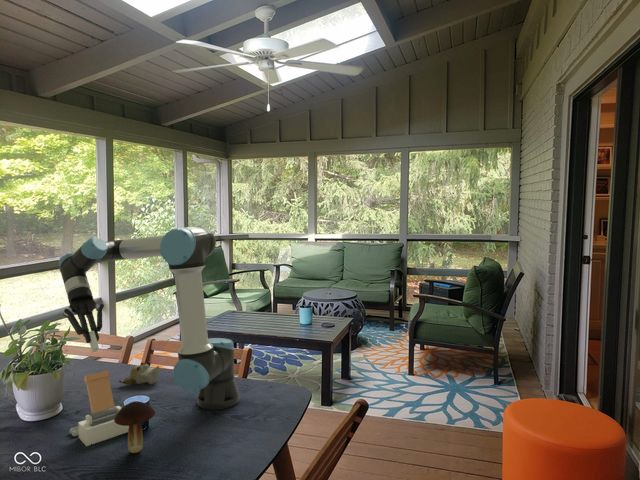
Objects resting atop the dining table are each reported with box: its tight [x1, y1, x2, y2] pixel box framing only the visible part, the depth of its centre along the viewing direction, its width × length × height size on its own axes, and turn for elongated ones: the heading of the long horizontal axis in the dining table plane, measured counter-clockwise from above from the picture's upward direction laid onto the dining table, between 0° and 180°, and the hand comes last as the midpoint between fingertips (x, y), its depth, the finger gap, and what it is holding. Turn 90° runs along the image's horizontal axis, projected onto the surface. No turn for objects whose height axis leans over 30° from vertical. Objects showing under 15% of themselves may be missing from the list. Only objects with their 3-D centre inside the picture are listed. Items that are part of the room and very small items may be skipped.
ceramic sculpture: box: [118, 362, 160, 385], centre depth 186 cm, size 11×9×15 cm
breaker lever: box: [83, 369, 117, 420], centre depth 145 cm, size 3×7×14 cm, turn 134°
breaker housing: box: [68, 405, 129, 447], centre depth 145 cm, size 12×15×7 cm
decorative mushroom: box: [114, 400, 156, 454], centre depth 133 cm, size 11×11×15 cm
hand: (95, 349), depth 150 cm, fingers closed
